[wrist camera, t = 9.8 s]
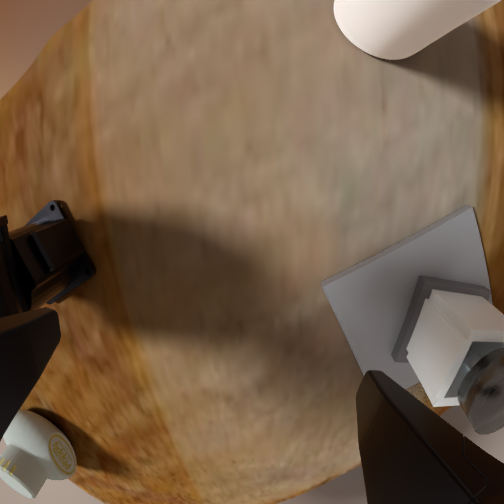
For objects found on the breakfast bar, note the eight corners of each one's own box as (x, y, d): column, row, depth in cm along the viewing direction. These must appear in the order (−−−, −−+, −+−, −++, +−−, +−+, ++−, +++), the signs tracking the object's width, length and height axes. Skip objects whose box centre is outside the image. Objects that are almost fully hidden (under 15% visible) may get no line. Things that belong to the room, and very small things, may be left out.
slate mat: (373, 397, 24) (375, 403, 23) (320, 282, 21) (321, 287, 20) (491, 331, 21) (496, 336, 21) (466, 205, 19) (472, 206, 18)
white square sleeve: (390, 354, 22) (419, 413, 15) (419, 275, 20) (465, 320, 13) (468, 357, 21) (503, 405, 15) (496, 288, 19) (545, 326, 13)
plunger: (416, 360, 19) (460, 438, 12) (439, 303, 18) (501, 372, 10) (462, 361, 19) (510, 429, 12) (485, 309, 18) (548, 368, 10)
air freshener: (88, 464, 31) (60, 519, 21) (43, 449, 31) (13, 496, 22) (56, 407, 28) (12, 466, 18) (10, 392, 28) (-33, 440, 19)
